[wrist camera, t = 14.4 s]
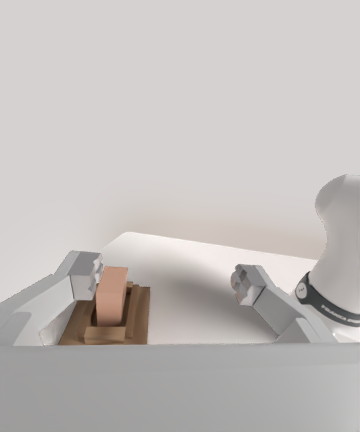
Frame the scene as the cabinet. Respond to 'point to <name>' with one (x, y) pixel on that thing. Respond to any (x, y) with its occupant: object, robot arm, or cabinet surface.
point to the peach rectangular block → (111, 296)
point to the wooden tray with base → (125, 335)
